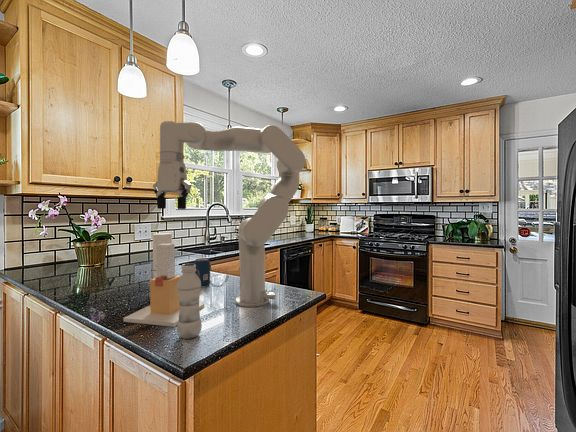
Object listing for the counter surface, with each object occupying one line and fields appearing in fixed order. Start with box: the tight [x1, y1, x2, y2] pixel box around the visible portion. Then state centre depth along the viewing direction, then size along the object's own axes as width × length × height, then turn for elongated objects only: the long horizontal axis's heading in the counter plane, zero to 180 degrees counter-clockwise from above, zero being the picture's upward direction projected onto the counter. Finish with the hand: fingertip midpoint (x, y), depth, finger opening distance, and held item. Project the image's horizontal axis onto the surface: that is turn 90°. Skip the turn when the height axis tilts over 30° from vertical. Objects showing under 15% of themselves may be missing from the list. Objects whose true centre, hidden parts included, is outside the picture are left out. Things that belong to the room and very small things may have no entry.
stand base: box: [122, 275, 205, 328], centre depth 100 cm, size 18×18×13 cm
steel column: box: [156, 242, 176, 280], centre depth 100 cm, size 4×4×22 cm
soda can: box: [193, 257, 211, 288], centre depth 136 cm, size 7×7×12 cm
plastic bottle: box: [176, 263, 203, 340], centre depth 83 cm, size 6×7×20 cm
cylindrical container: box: [152, 232, 173, 279], centre depth 121 cm, size 7×7×25 cm
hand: (171, 208), depth 104 cm, fingers open, 9 cm apart
